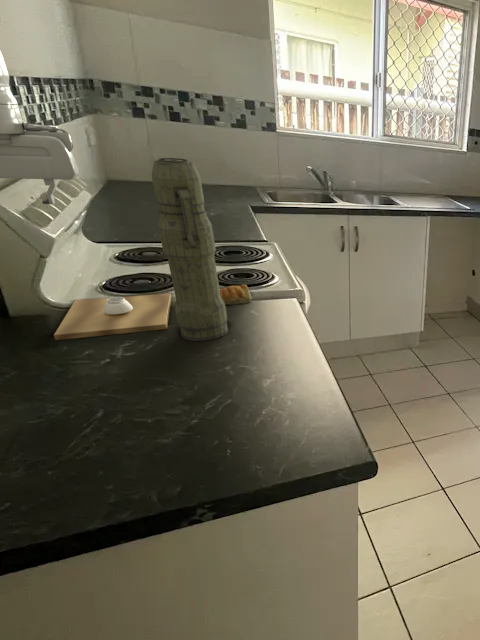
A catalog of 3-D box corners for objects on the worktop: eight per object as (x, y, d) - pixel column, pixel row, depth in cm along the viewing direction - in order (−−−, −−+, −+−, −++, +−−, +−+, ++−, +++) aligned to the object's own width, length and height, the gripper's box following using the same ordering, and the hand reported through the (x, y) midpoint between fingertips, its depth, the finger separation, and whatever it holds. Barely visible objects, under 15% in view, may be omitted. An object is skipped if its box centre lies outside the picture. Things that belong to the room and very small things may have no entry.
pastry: (211, 308, 113) (208, 293, 111) (205, 300, 117) (202, 285, 116) (254, 302, 119) (252, 288, 117) (246, 294, 123) (244, 280, 122)
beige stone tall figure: (217, 319, 108) (189, 156, 94) (238, 336, 101) (211, 163, 87) (172, 327, 102) (135, 155, 88) (190, 347, 95) (153, 163, 81)
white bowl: (138, 310, 105) (123, 306, 107) (135, 298, 104) (120, 293, 106) (113, 317, 101) (98, 312, 103) (110, 304, 100) (95, 299, 101)
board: (55, 340, 92) (53, 334, 92) (76, 305, 108) (75, 300, 107) (166, 329, 101) (165, 324, 101) (171, 297, 117) (170, 293, 116)
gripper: (71, 125, 88) (91, 201, 94) (-91, 114, 78) (-58, 200, 84) (63, 127, 83) (85, 207, 89) (-111, 116, 73) (-74, 206, 79)
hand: (14, 203), depth 86 cm, fingers open, 8 cm apart
